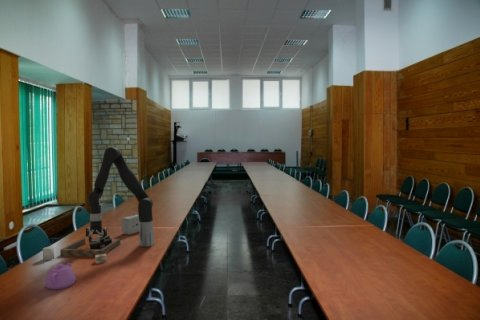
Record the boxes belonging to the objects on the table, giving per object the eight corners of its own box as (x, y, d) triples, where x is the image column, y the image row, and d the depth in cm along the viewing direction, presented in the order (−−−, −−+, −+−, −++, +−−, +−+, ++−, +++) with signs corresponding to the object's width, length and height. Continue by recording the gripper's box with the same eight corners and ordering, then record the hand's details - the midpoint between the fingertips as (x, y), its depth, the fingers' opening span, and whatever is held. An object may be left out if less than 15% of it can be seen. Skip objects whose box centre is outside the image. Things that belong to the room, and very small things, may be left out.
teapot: (83, 276, 185) (82, 256, 184) (66, 292, 165) (66, 270, 164) (56, 276, 184) (56, 257, 183) (37, 293, 164) (36, 271, 163)
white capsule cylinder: (56, 257, 215) (55, 246, 214) (50, 260, 209) (49, 249, 208) (47, 257, 215) (46, 246, 215) (40, 260, 209) (40, 249, 209)
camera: (103, 245, 238) (103, 231, 238) (113, 248, 233) (113, 233, 232) (83, 252, 225) (82, 237, 224) (93, 254, 219) (92, 239, 219)
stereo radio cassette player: (141, 228, 286) (140, 204, 285) (148, 229, 282) (148, 205, 281) (121, 234, 268) (120, 209, 267) (128, 235, 264) (127, 210, 263)
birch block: (105, 260, 210) (105, 253, 210) (106, 262, 206) (106, 255, 206) (95, 261, 207) (95, 255, 207) (95, 263, 204) (95, 257, 203)
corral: (120, 244, 241) (120, 238, 241) (102, 256, 215) (102, 250, 215) (82, 243, 243) (82, 238, 243) (60, 255, 217) (60, 249, 217)
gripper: (108, 218, 237) (109, 241, 238) (88, 218, 239) (89, 240, 240) (103, 220, 230) (103, 244, 231) (83, 220, 231) (83, 244, 232)
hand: (96, 242), depth 235 cm, fingers open, 8 cm apart
